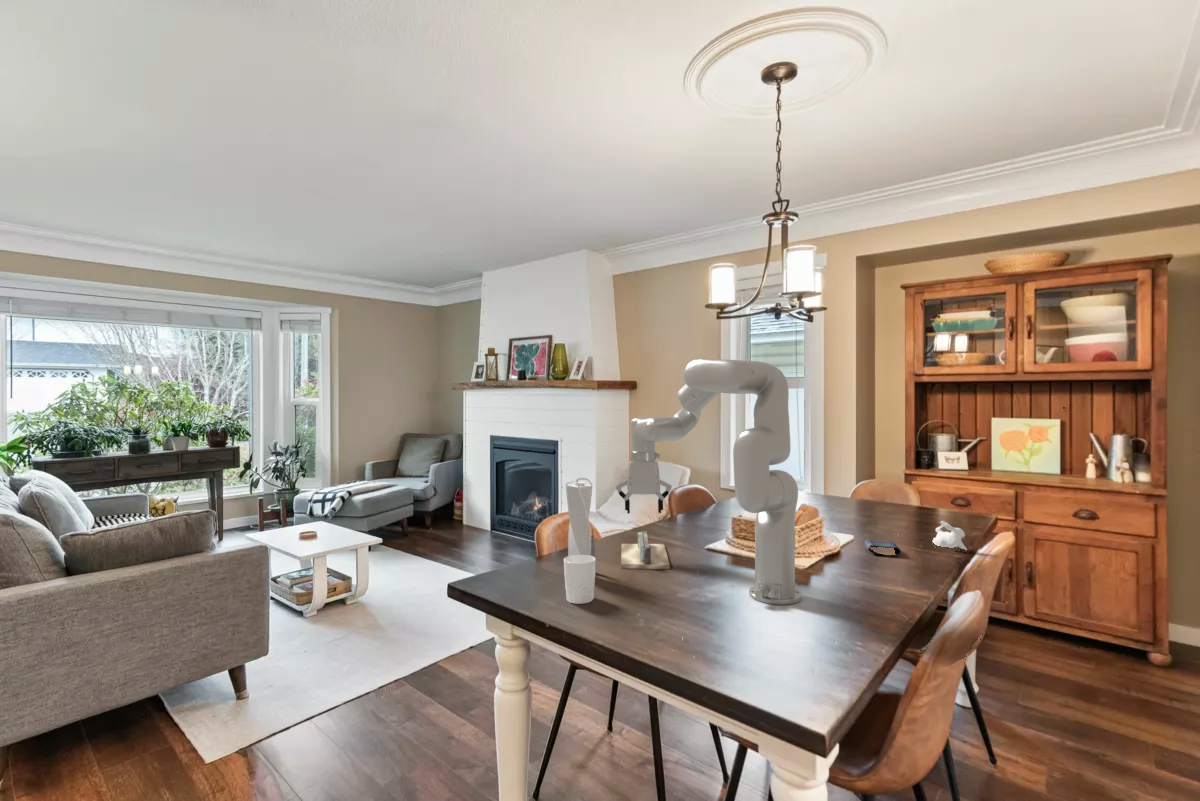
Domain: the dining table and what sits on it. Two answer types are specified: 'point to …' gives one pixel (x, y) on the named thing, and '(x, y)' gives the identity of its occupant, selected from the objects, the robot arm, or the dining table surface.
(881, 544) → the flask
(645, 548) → the tong rest
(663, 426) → the robot arm
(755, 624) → the dining table surface
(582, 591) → the white cup
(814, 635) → the dining table surface
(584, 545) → the skyscraper
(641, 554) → the bar
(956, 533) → the rabbit figurine
